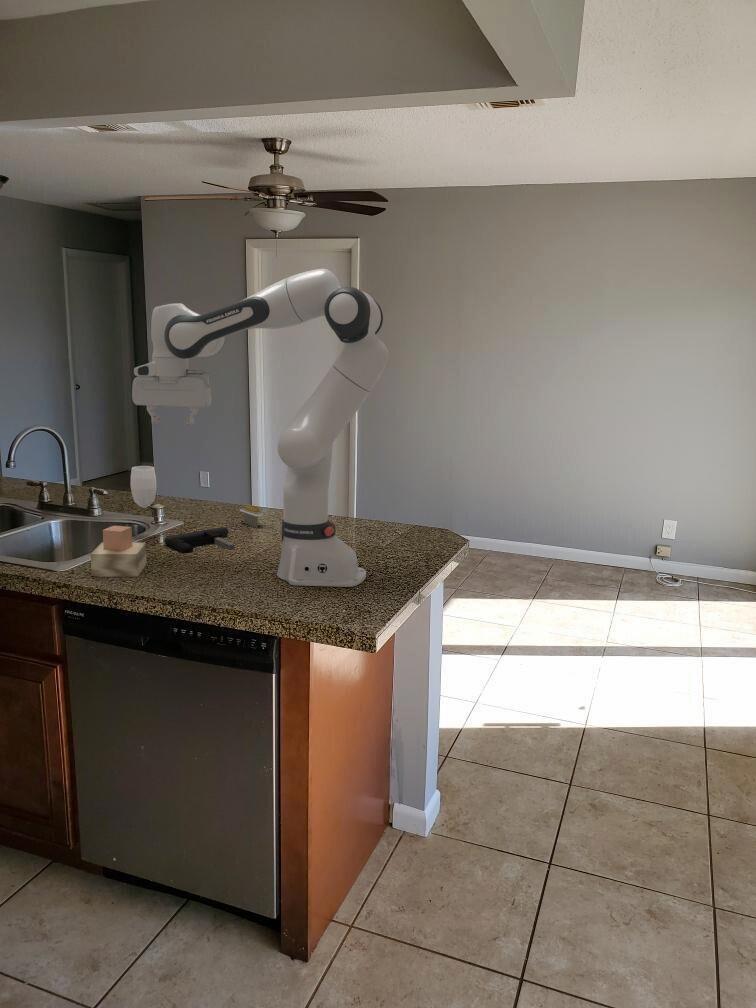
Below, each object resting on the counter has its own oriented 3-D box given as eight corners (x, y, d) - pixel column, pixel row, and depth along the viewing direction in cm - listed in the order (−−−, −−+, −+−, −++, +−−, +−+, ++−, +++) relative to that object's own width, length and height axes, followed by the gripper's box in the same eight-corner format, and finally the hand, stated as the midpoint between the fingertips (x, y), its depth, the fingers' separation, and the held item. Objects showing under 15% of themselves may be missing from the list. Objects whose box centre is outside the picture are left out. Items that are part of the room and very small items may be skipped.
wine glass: (150, 541, 225) (148, 470, 221) (127, 539, 226) (124, 468, 222) (162, 535, 232) (160, 466, 228) (140, 533, 233) (137, 465, 229)
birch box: (146, 564, 204) (145, 542, 202) (137, 577, 193) (136, 554, 192) (102, 564, 203) (101, 542, 201) (91, 577, 192) (90, 553, 191)
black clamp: (251, 538, 224) (221, 524, 235) (189, 549, 211) (160, 534, 222) (251, 549, 225) (221, 535, 236) (189, 561, 212) (160, 545, 223)
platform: (253, 518, 259) (253, 499, 257) (284, 529, 246) (284, 509, 244) (221, 523, 251) (221, 503, 250) (252, 535, 238) (251, 513, 236)
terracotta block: (132, 546, 199) (131, 527, 198) (121, 551, 194) (121, 531, 193) (114, 544, 200) (113, 525, 199) (103, 549, 195) (102, 529, 194)
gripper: (214, 369, 199) (216, 424, 202) (139, 367, 202) (142, 421, 205) (204, 370, 193) (206, 426, 196) (127, 368, 196) (130, 423, 199)
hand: (172, 423), depth 200 cm, fingers open, 8 cm apart
